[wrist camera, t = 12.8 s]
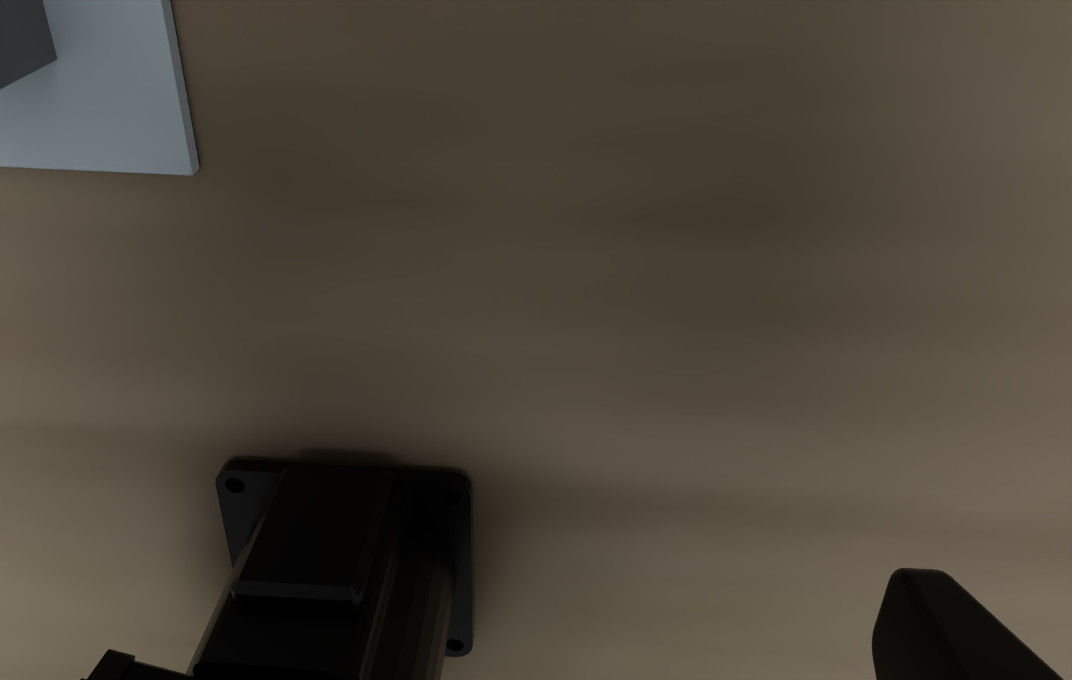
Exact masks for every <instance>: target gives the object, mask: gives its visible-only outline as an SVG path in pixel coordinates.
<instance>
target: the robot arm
mask: <svg viewBox="0 0 1072 680" xmlns="http://www.w3.org/2000/svg"><path fill="white" fill-rule="evenodd" d="M232 478H237V479H240V480H241V481H242V482H243V483H240V482H236V481H235V480H234V479H232ZM216 488H217V493H218V498H219V503H220V508H221V513H222V518H223V523H224V528H225V533H226V537H227V542H228V547H229V552H230V557H231V562H232V567H233V570H232V572H231V575H230V577H229V579H228V581H227V583H226V586H225V588H224V590H223V592H222V594H221V597H220V599H219V601H218V603H217V605H216V608H215V610H214V612H213V614H212V616H211V619H210V621H209V623H208V625H207V627H206V630H205V632H204V634H203V636H202V638H201V641H200V643H199V645H198V647H197V649H196V652H195V654H194V656H193V658H192V660H191V663H190V665H189V667H188V669H187V671H186V674H183V673H180V672H176V671H172V670H168V669H164V668H161V667H157V666H153V665H149V664H146V663H142V662H138V661H135V656H133V655H130V654H126V653H122V652H118V651H114V650H111V649H109V650H108V651H107V652H106V653H105V655H104V656H103V657H102V659H101V660H100V662H99V663H98V664H97V666H96V667H95V669H94V670H93V671H92V673H91V674H90V676H89V677H88V678H87V680H440V678H441V672H442V666H443V660H444V656H451V657H459V656H464V655H466V654H468V653H469V652H470V651H471V650H472V646H473V639H474V581H473V488H472V485H471V482H470V481H469V480H468V478H467V477H465V476H463V475H462V474H459V473H454V472H441V471H423V470H405V469H388V468H370V467H352V466H334V465H316V464H299V463H281V462H263V461H245V460H233V461H229V462H227V463H225V464H224V465H223V467H222V468H221V470H220V472H219V474H218V476H217V478H216ZM447 490H453V491H456V492H457V493H459V494H457V495H451V494H448V493H447V492H445V491H447ZM455 639H458V640H455ZM872 655H873V662H874V668H875V673H876V679H877V680H1063V679H1062V678H1061V677H1060V676H1059V675H1058V674H1057V673H1056V672H1055V671H1054V670H1053V669H1051V668H1050V667H1049V666H1048V665H1047V664H1046V663H1045V662H1044V661H1043V660H1042V659H1041V658H1039V657H1038V656H1037V655H1036V654H1035V653H1034V652H1033V651H1032V650H1031V649H1030V648H1029V647H1027V646H1026V645H1025V644H1024V643H1023V642H1022V641H1021V640H1020V639H1019V638H1018V637H1016V636H1015V635H1014V634H1013V633H1012V632H1011V631H1010V630H1009V629H1008V628H1007V627H1006V626H1004V625H1003V624H1002V623H1001V622H1000V621H999V620H998V619H997V618H996V617H995V616H994V615H992V614H991V613H990V612H989V611H988V610H987V609H986V608H985V607H984V606H983V605H982V604H980V603H979V602H978V601H977V600H976V599H975V598H974V597H973V596H972V595H971V594H970V593H968V592H967V591H966V590H965V589H964V588H963V587H962V586H961V585H960V584H959V583H957V582H956V581H955V580H954V579H953V578H952V577H951V576H949V575H948V574H946V573H945V572H943V571H940V570H933V569H915V568H900V569H897V570H896V571H894V573H893V574H892V575H891V577H890V579H889V582H888V585H887V588H886V591H885V595H884V598H883V601H882V604H881V607H880V610H879V613H878V617H877V620H876V623H875V626H874V630H873V635H872ZM80 680H86V679H83V678H81V679H80Z"/></svg>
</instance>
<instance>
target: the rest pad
mask: <svg viewBox="0 0 1072 680" xmlns="http://www.w3.org/2000/svg"><path fill="white" fill-rule="evenodd" d="M43 4H44V8H45V12H46V16H47V20H48V24H49V28H50V32H51V36H52V40H53V44H54V47H55V51H56V55H57V59H58V60H56V61H54V62H52V63H50V64H48V65H46V66H44V67H42V68H40V69H38V70H36V71H35V72H33V73H31V74H29V75H27V76H25V77H23V78H21V79H19V80H17V81H15V82H13V83H12V84H10V85H8V86H6V87H4V88H2V89H0V166H1V167H22V168H44V169H65V170H86V171H107V172H129V173H150V174H171V175H194V174H195V173H196V172H197V171H198V170H199V169H200V168H199V162H198V157H197V151H196V145H195V139H194V134H193V128H192V122H191V117H190V111H189V105H188V99H187V94H186V88H185V82H184V77H183V71H182V65H181V59H180V54H179V48H178V42H177V36H176V31H175V25H174V19H173V14H172V8H171V2H170V0H43Z"/></svg>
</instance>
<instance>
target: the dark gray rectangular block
mask: <svg viewBox="0 0 1072 680" xmlns="http://www.w3.org/2000/svg"><path fill="white" fill-rule="evenodd" d="M56 60H58V59H57V55H56V51H55V47H54V44H53V40H52V36H51V32H50V28H49V24H48V20H47V16H46V12H45V8H44V4H43V0H0V89H2V88H4V87H6V86H8V85H10V84H12V83H13V82H15V81H17V80H19V79H21V78H23V77H25V76H27V75H29V74H31V73H33V72H35V71H36V70H38V69H40V68H42V67H44V66H46V65H48V64H50V63H52V62H54V61H56Z"/></svg>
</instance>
